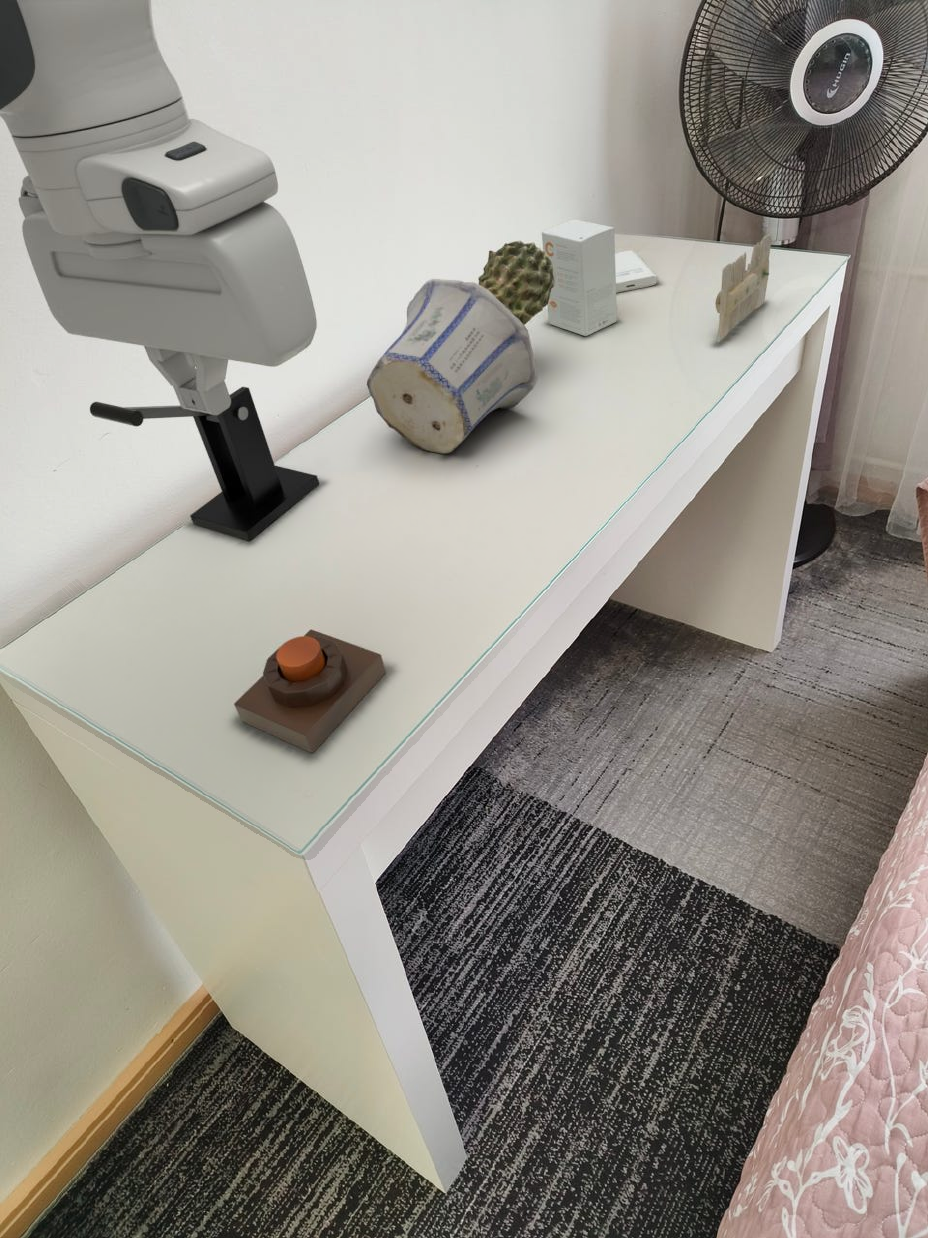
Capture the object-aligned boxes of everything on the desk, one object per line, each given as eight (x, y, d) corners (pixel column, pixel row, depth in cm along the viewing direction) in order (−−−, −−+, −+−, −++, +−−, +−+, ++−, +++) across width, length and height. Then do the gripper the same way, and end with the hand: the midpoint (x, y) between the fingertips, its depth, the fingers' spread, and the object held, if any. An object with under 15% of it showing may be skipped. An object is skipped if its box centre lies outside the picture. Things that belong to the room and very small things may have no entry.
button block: (312, 754, 67) (299, 720, 65) (241, 721, 71) (226, 688, 69) (386, 672, 73) (376, 638, 71) (316, 646, 77) (305, 613, 75)
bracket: (249, 541, 92) (206, 427, 83) (193, 524, 96) (146, 414, 87) (319, 484, 99) (286, 373, 90) (264, 470, 103) (227, 363, 94)
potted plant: (457, 360, 85) (585, 190, 97) (326, 347, 94) (458, 194, 106) (505, 484, 98) (612, 321, 110) (385, 462, 107) (497, 314, 120)
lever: (130, 432, 78) (130, 405, 77) (90, 422, 80) (88, 396, 80) (253, 424, 90) (253, 401, 89) (214, 416, 93) (214, 393, 92)
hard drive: (633, 259, 139) (657, 284, 129) (584, 269, 139) (604, 295, 129) (633, 249, 138) (657, 274, 128) (584, 258, 138) (604, 284, 128)
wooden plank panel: (754, 301, 120) (760, 227, 113) (771, 303, 119) (778, 228, 112) (710, 344, 112) (714, 267, 105) (728, 346, 110) (733, 268, 104)
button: (306, 687, 68) (300, 671, 67) (273, 674, 70) (267, 658, 69) (333, 658, 70) (328, 643, 69) (301, 646, 72) (296, 631, 71)
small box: (618, 321, 121) (615, 226, 113) (585, 337, 119) (580, 241, 110) (579, 309, 126) (574, 217, 118) (547, 324, 124) (540, 231, 116)
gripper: (-37, 190, 49) (70, 408, 58) (207, 197, 39) (290, 459, 48) (53, 158, 53) (140, 367, 62) (296, 157, 43) (358, 407, 52)
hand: (207, 408), depth 55 cm, fingers closed
